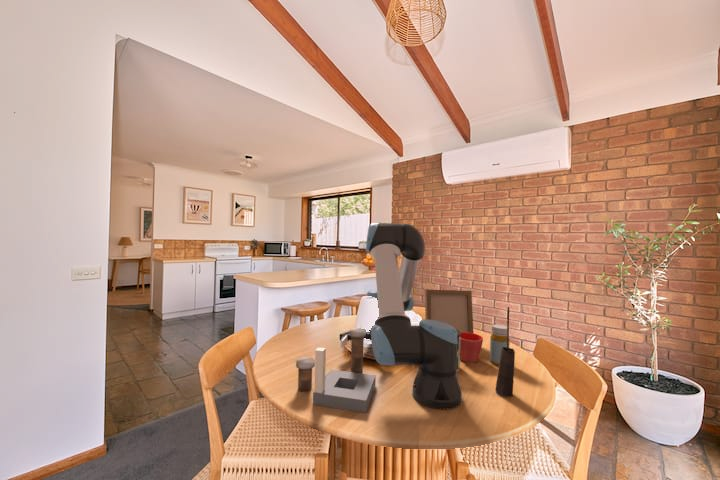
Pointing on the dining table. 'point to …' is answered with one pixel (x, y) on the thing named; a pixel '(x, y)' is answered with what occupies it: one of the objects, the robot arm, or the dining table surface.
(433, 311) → the photo frame
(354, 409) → the hole block
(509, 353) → the walkie talkie
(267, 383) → the dining table surface
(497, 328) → the bottle
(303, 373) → the short pin
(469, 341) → the flower pot
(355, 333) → the long pin
